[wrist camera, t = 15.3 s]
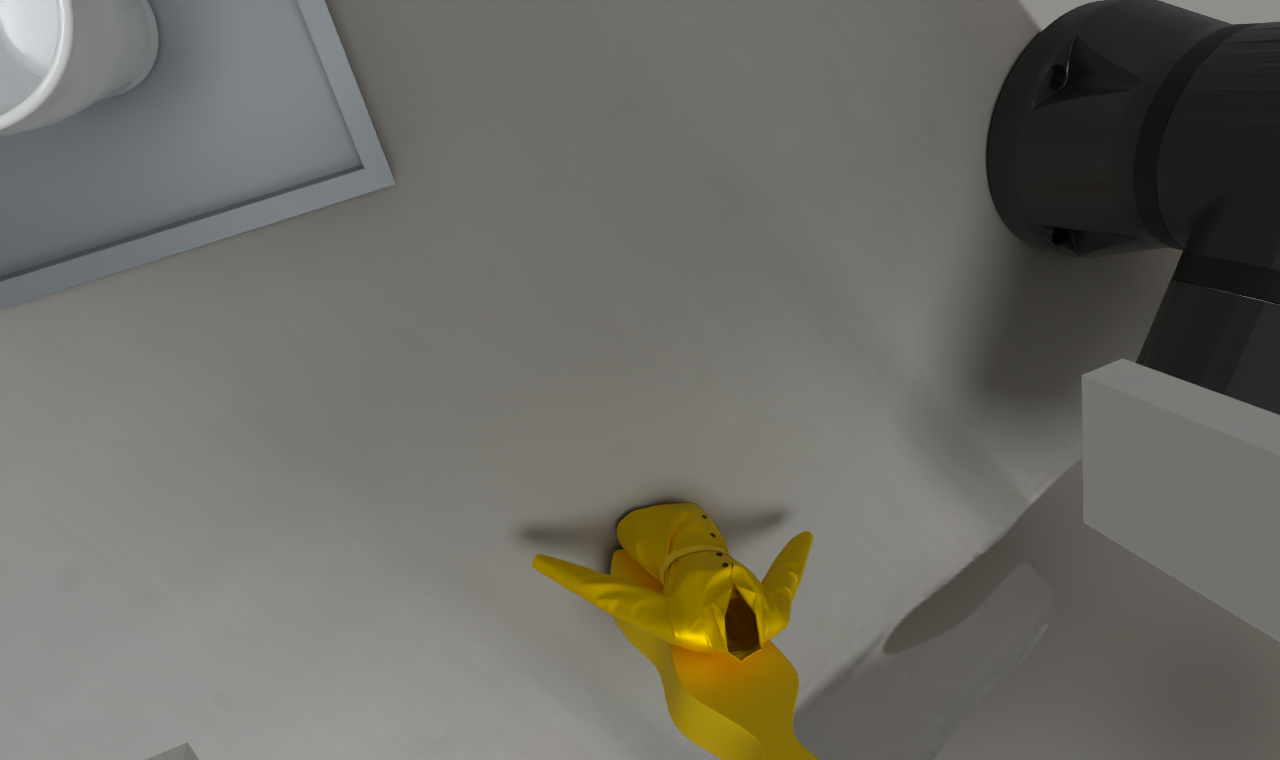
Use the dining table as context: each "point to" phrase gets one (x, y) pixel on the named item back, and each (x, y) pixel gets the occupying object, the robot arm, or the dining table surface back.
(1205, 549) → the robot arm
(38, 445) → the dining table surface
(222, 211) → the tray
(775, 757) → the figure statuette
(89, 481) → the dining table surface
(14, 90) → the drinking glass
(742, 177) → the dining table surface
